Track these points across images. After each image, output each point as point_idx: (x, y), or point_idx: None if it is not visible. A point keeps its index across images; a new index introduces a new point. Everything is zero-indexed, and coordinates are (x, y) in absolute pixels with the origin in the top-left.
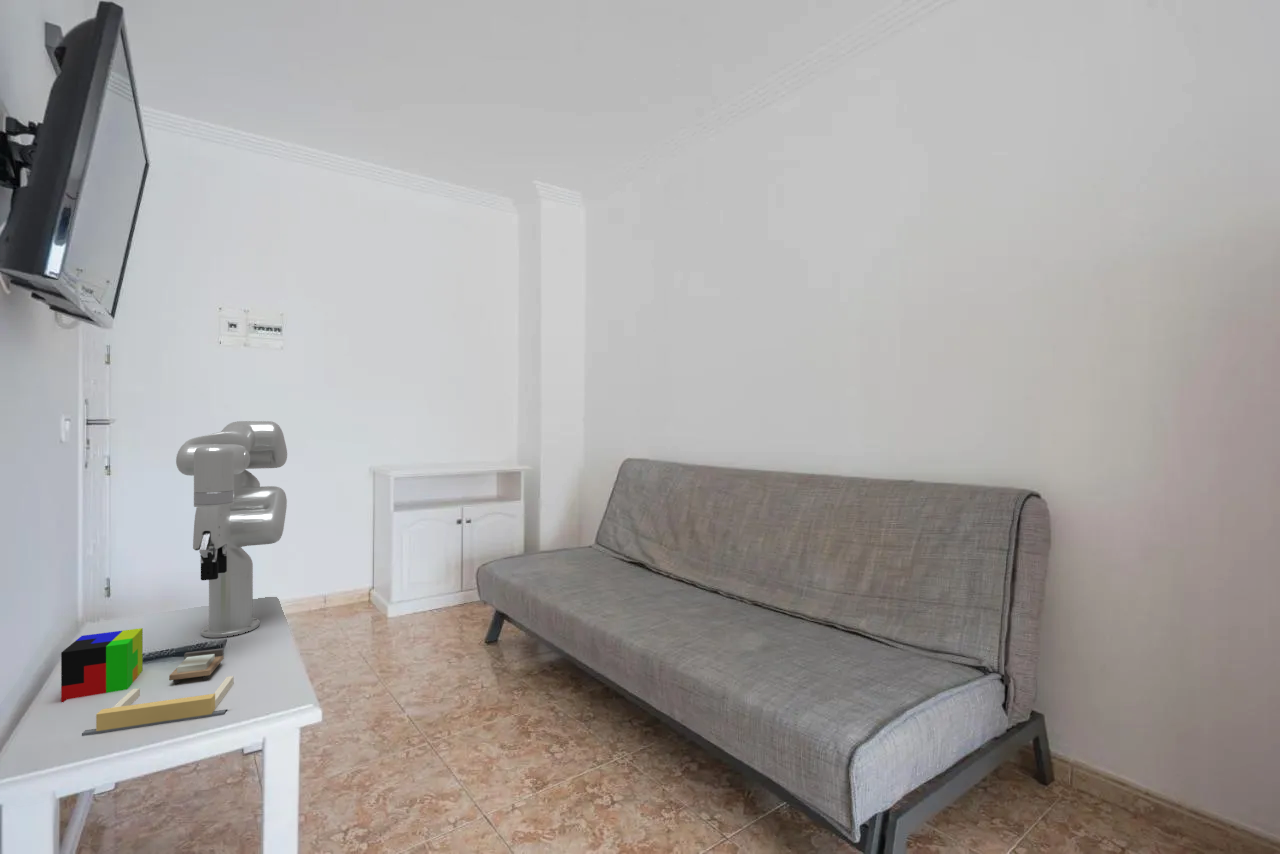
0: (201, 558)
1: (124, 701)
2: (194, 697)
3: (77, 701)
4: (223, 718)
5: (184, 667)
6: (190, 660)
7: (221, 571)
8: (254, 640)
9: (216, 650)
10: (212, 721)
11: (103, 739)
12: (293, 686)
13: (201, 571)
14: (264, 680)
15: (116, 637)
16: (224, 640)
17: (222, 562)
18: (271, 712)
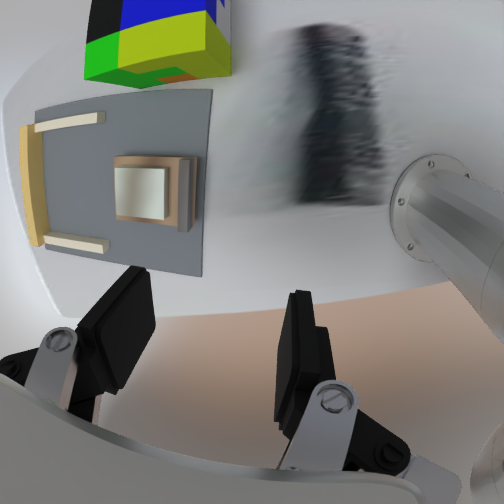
0: (40, 352)
1: (61, 126)
2: (32, 226)
3: None
4: (41, 248)
5: (115, 180)
6: (141, 182)
7: (281, 339)
8: (337, 257)
9: (178, 221)
10: None
11: None
12: None
13: (108, 293)
14: None
15: (143, 25)
16: (373, 200)
17: (277, 385)
18: (50, 289)
